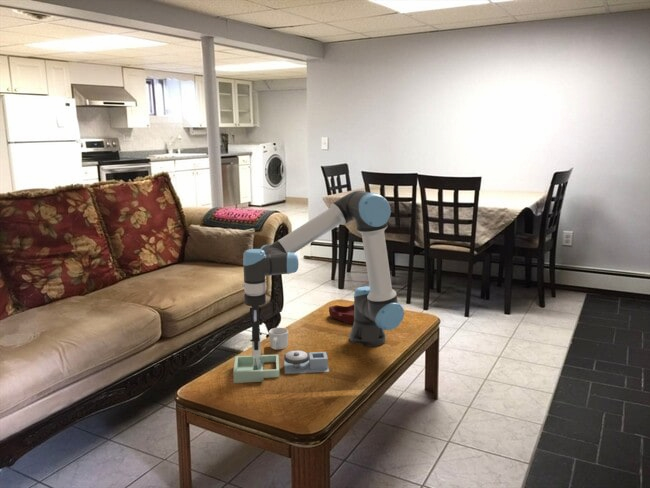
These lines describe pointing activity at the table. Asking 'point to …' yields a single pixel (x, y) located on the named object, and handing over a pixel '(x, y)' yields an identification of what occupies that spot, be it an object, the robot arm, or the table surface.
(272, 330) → the cup
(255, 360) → the dark capped cylinder
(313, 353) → the block
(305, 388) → the table surface
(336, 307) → the ashtray
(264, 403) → the table surface
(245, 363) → the tray
